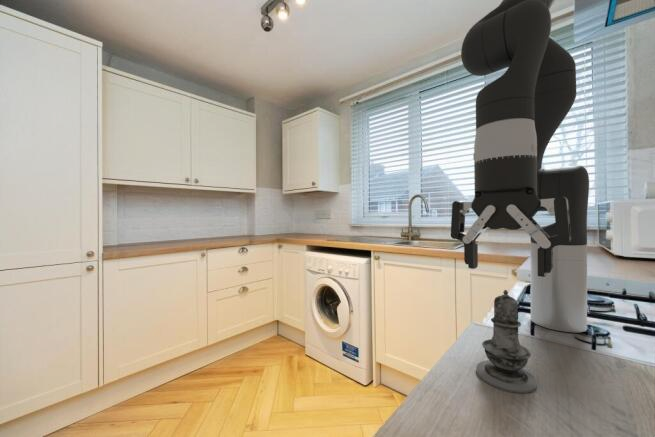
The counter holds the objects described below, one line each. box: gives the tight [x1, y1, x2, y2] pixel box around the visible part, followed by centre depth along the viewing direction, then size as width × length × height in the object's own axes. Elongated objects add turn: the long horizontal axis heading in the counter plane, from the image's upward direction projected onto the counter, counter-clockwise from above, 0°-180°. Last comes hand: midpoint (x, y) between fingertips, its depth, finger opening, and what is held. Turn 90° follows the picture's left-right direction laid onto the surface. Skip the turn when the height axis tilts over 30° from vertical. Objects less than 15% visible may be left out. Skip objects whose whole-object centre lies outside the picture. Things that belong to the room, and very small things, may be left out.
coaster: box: [476, 359, 537, 394], centre depth 40 cm, size 7×7×1 cm
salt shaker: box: [481, 289, 532, 384], centre depth 40 cm, size 6×6×12 cm
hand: (504, 271), depth 40 cm, fingers open, 8 cm apart
